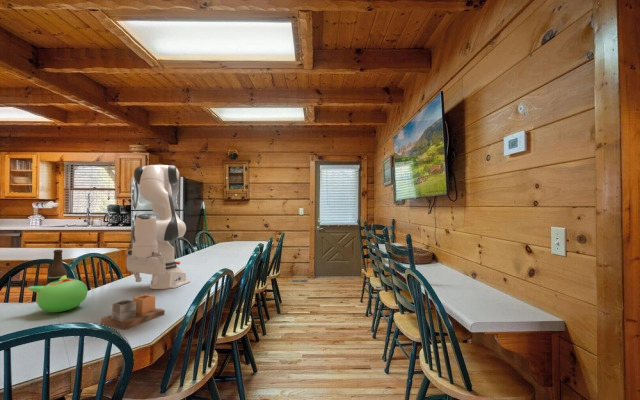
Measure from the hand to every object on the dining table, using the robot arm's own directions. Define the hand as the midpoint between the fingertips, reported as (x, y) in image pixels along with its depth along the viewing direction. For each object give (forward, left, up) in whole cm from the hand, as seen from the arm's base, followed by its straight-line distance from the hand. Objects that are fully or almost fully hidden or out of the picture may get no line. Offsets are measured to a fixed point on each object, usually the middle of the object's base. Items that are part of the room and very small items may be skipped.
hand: (146, 283), depth 135 cm
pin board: (+5, 0, -14) cm, 15 cm away
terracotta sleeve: (+1, 0, -12) cm, 12 cm away
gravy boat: (+12, -38, -14) cm, 42 cm away
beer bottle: (+2, -62, -14) cm, 64 cm away
